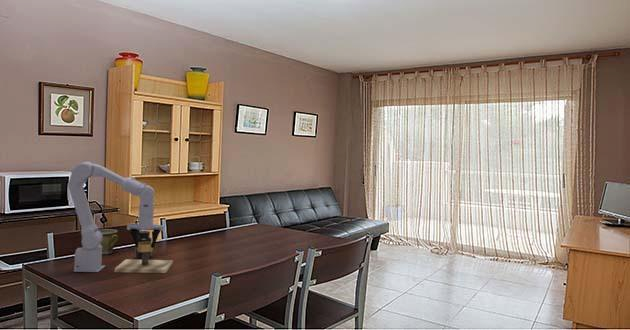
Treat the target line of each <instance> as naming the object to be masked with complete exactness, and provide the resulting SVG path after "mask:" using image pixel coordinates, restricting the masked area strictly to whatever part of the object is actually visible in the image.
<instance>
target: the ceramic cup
mask: <svg viewBox="0 0 630 330" xmlns="http://www.w3.org/2000/svg"><path fill="white" fill-rule="evenodd" d="M98 230H99V231H100V232H101V233H102V235H103V238H102V241H101V242H100V244H101V246H102V255H110V254H113V251H114V247H115V243H116V242H117V241H118V240H119V236H118V230H117V229H111V228H110V229H108V228H107V229H106V228H105V229H98Z"/></svg>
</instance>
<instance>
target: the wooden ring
mask: <svg viewBox="0 0 630 330" xmlns="http://www.w3.org/2000/svg"><path fill="white" fill-rule="evenodd" d="M153 250H154V248H152V242H139V243H137V251H138V252H150V251H151V252H153Z"/></svg>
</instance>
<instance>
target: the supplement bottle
mask: <svg viewBox="0 0 630 330" xmlns="http://www.w3.org/2000/svg"><path fill="white" fill-rule="evenodd" d="M150 233H151V232H150V230H140V231H139V242H152V237H150V235H151V234H150ZM134 247H135V246H134ZM134 251H135V252H134V257H135V258H134V259H136V260H142V253H149V259H150V258H151V257H152V251H150V252H138V251H137V247H135V250H134Z"/></svg>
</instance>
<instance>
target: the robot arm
mask: <svg viewBox="0 0 630 330" xmlns="http://www.w3.org/2000/svg"><path fill="white" fill-rule="evenodd" d="M92 177H93V178H99V177H101V178H105V179H106V180H108V181H111V182H112V183H115V184H118V185H120V187H121V189H122V190H123V191H125V192H127V193H129V194H132V195H134V196H136V197H139V203H138V204H139V206H138V224H135V223H134V224H127V226H126V230H127V231H130V235H131V237H132V240H133V241H134V242H133V243H134V247H137V243H139V231H151V239H152V248H153V249H155V246H156V243H157V242H156V241H157V240H158V237H159V235H160V233H161V232H163V231H165V225H160V224H154V210H155V208H154V207H155V204H154V202H155V201H154V196H155V190H154V188H153V187H152V186H151V185H147V183H145V182H141V181H138V180H136V177H134V176H133V177H130V176H128V177H123V176H122V175H120V174H117V173H116V172H114V171H112V170H110V169H109V168H107V167H104V166H102V165H100V164H97V163H94V162H92V161H89V160H86V161H83V162H78V163H77V164H76V165H75V166H74V167H73V168H72V170H71V174H70V177H69V180H68V184H67V187H68V191H69V194H70V196H71V200H72V203H73V206H74V208H75V212H76V215H77V218H78V221H79V224H80V228H81V229H80V231H81V232H80V234H81V245H82V247H77V248H76V250H75V253H74V263H73V265H74V267H73V272H75V273H77V272H78V273H79V272H80V273H81V272H83V273H99V272H100V271H102V270H103V269H104V268H105V267H106V265H102V263H103V262H102V261H103V260H102V256H103V254H102V246H101V244H100V242H101V241H102V238H103V235H102V233H101V232H100V231H99V230H100V229H99V227H98V225H97V224H96V222H95V219H94V216H93V213H92V210H91V207H90V204H89V201H88V198H87V195H86V192H85V189H84V186H85V184H86V183H87V181H88V180H89V179H90V178H92Z"/></svg>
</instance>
